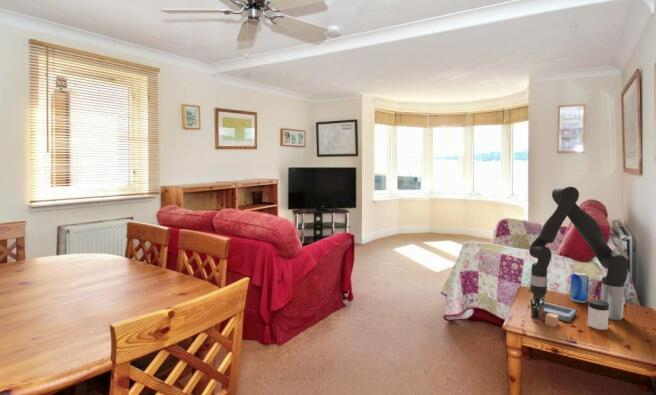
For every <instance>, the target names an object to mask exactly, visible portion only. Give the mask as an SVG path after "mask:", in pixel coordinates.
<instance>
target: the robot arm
mask: <svg viewBox="0 0 656 395" xmlns="http://www.w3.org/2000/svg"><path fill="white" fill-rule="evenodd" d="M551 196H552V199H553V202H555V204H556V205H557V207H556V209H555V210H554V212H553V213H552V214H551V216H549V218H548V219H547V220H546V221H545V222H544V225H543V226H542V228H541V230H540V233H539V235H538V236H537V237H536V239H535V240H534V241H533V242H532V243H531V244H530V246H529V255H530V256H531V257H532V258H535V259H537V262H534V263H533V262H532V264H531V270H530V271H531V272H530V274H531V275H530V282H529V283H530V284H529V292H530V293H532V294H533V295H532V298H531V299H530V311H531V310H533V317H532V318H534V317H535V318H534V319H538V309H539V307H541V308H542V307H543V305H544V302H545V300H546V299H545V298H546V295H547V293H548V268H549V265H550V262H551V260H552V250H551V249H550V248H549V247H547V245H548V244H553V243H554V241H555V240H556V238H557V235H558V232H559V231H560V229H561V227H562V225H563V223H564V221H565V220H566V218H567V217H568V219H569V221H570V222H571V223H572V225H573V226H574V227H575V229H576V230H577V232H578V233H579V235H580V236H581V237H582V238H583V239H584V241H585V243H587V245H588V246H589V247H590V249H591V250H592V251H593V253H594V255H595V256H596V258H597V260H598V262H599V264H600V265H601V267H603V268H605V269H606V270H607V272H606V275H604V276H602V277H601V288H600V298H599V300H602V301H605V302H607V303H609V314H608V320H612V321H619V322H620V321H622V319H623V318H624V306H625V305H624V304H625V299H624V295H625V293H624V292H625V283H626V282H627V279H628V274H629V261H628V259H627V258H626V257H625V256H624V255H622V254H619V253H617V252H615V251H614V250H613V249H611V247H610V246H609V244H608V243H607V242H606V240H605V236H604V232H603V229H602V228H601V226H600V225H599V223H598V222H597V221H596V219H595V218H594V217H592V215H590V214H589V213H588V212H586V211H585V210H584V209H582V208H581V207H580V206H579V205H578V203H577V202H578V201H579V198H580V192H579V190H578V189H577V188H576V187H574V186H570V185H569V186H564V185H563V186H557V187H554V189H552V192H551ZM534 307H535V308H534Z"/></svg>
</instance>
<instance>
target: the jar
mask: <svg viewBox="0 0 656 395" xmlns="http://www.w3.org/2000/svg"><path fill="white" fill-rule="evenodd" d="M587 305H588V307H587V323H586V324H587V326H588V327H591V328H592V329H596V330H606V331H607V330H608V327H609V319H608V314H609V303H607V302H605V301H602V300H600V299H596V298H595V299H592V298H591V299H589V300H588V304H587Z"/></svg>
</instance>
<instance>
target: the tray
mask: <svg viewBox="0 0 656 395" xmlns="http://www.w3.org/2000/svg"><path fill="white" fill-rule="evenodd" d="M542 308H544V314H543V316H545V317H546V315H547V314H548V313H552V314H555V315H559V321H564V322H568V323H569V322H570V321H572V319H573V318H574V317H575V316H576V315H577V309H575V308H570V307H567V306H566V307H565V306H563V305H562V306H561V305H559V304H553V303H550V302H545V301H544V305H543V307H542Z"/></svg>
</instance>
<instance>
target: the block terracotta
mask: <svg viewBox="0 0 656 395" xmlns="http://www.w3.org/2000/svg"><path fill="white" fill-rule="evenodd" d="M544 322H545V323H544V324H545V325H547V326H551V327H555V328H556V327H557V326H558V325H559V322H560V319H559V315H555V314H552V313H548V314H547V315H546V316H545V321H544Z"/></svg>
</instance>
